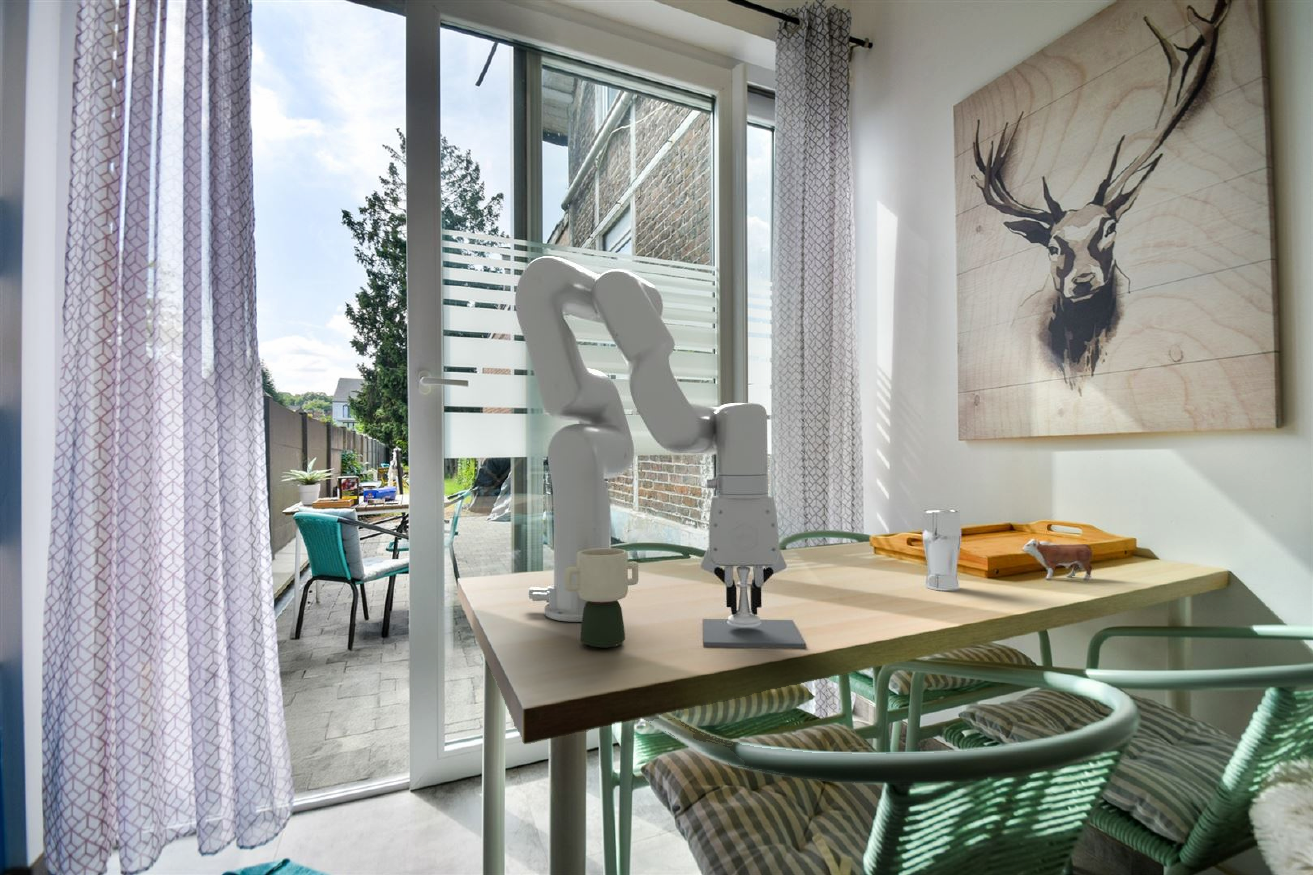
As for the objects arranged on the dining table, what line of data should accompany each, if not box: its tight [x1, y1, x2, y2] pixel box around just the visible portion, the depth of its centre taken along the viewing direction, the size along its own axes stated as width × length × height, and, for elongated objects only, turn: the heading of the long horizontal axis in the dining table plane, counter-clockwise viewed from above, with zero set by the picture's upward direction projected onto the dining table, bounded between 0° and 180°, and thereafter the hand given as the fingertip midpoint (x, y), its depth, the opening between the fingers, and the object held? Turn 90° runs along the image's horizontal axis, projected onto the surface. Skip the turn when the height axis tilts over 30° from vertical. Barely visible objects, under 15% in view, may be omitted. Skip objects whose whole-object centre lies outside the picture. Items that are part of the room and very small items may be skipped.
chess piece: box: [727, 566, 761, 628], centre depth 91 cm, size 5×5×10 cm
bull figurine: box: [1021, 538, 1093, 581], centre depth 130 cm, size 4×13×8 cm, turn 82°
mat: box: [702, 618, 807, 649], centre depth 91 cm, size 14×12×1 cm
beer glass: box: [921, 509, 962, 592], centre depth 122 cm, size 7×7×15 cm
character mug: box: [565, 547, 639, 648], centre depth 87 cm, size 11×7×13 cm, turn 115°
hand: (743, 611), depth 91 cm, fingers closed on chess piece
